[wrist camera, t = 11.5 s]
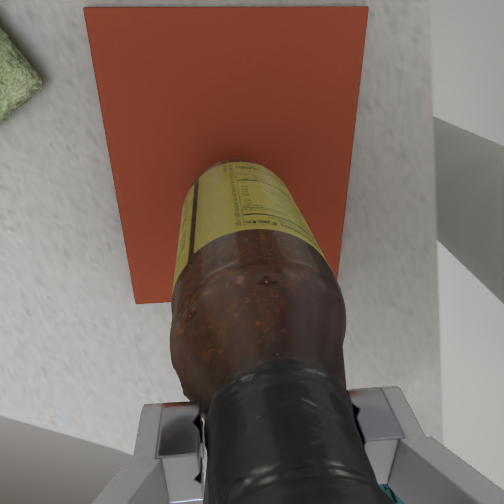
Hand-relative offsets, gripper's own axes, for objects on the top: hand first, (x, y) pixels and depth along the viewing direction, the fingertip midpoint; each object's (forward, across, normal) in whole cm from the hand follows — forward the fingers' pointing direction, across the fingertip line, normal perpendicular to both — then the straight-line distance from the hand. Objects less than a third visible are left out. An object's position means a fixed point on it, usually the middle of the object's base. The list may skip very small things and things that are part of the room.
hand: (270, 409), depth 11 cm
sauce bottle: (+15, 0, 0) cm, 15 cm away
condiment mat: (+20, 0, 0) cm, 20 cm away
